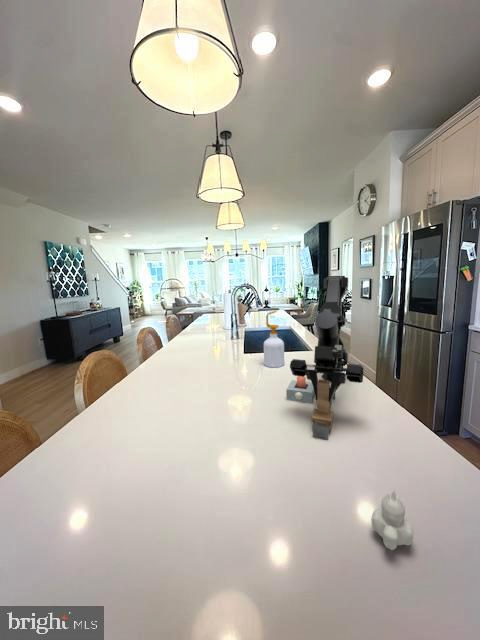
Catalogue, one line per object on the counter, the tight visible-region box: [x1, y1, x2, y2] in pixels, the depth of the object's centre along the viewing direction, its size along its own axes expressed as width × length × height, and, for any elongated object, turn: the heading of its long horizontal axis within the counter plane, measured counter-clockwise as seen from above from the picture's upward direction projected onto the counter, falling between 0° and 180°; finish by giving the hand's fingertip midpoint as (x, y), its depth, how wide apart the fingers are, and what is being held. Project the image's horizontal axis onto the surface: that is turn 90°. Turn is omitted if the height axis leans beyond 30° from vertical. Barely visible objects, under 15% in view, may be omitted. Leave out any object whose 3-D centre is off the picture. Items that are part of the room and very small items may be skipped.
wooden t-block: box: [311, 379, 334, 431], centre depth 69 cm, size 5×5×11 cm
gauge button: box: [296, 376, 307, 389], centre depth 88 cm, size 3×3×4 cm
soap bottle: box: [263, 309, 285, 368], centre depth 118 cm, size 9×9×25 cm
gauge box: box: [285, 379, 315, 404], centre depth 88 cm, size 8×8×4 cm
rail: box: [312, 393, 336, 441], centre depth 76 cm, size 24×4×3 cm, turn 156°
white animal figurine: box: [371, 489, 414, 551], centre depth 40 cm, size 5×7×8 cm
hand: (322, 400), depth 69 cm, fingers closed on wooden t-block, 3 cm apart
